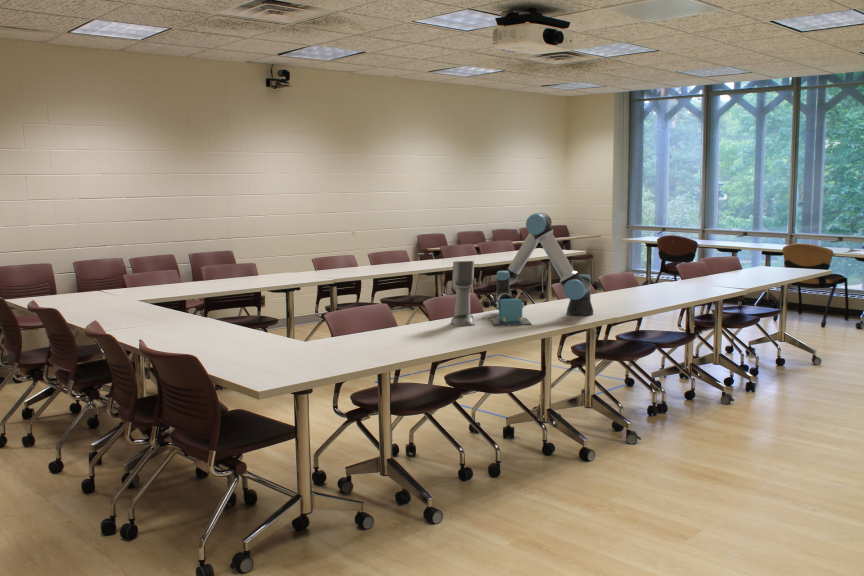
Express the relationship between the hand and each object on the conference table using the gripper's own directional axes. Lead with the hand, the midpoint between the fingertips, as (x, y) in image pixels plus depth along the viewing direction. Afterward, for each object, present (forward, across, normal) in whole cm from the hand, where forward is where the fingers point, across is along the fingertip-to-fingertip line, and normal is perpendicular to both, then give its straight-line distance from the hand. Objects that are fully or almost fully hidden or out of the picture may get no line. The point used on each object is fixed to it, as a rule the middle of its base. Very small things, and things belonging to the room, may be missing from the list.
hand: (510, 305), depth 396 cm
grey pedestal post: (0, +26, -10) cm, 28 cm away
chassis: (-1, 0, -10) cm, 10 cm away
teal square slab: (-1, 0, -9) cm, 9 cm away
